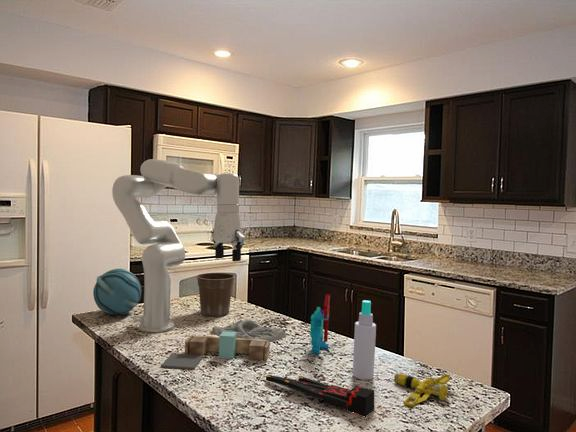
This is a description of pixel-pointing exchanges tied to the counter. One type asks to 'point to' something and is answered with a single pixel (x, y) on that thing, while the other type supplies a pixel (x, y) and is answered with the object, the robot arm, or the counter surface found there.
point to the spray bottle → (364, 344)
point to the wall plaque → (251, 331)
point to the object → (215, 293)
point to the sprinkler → (423, 387)
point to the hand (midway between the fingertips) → (227, 259)
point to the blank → (227, 344)
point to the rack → (248, 346)
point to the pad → (182, 361)
